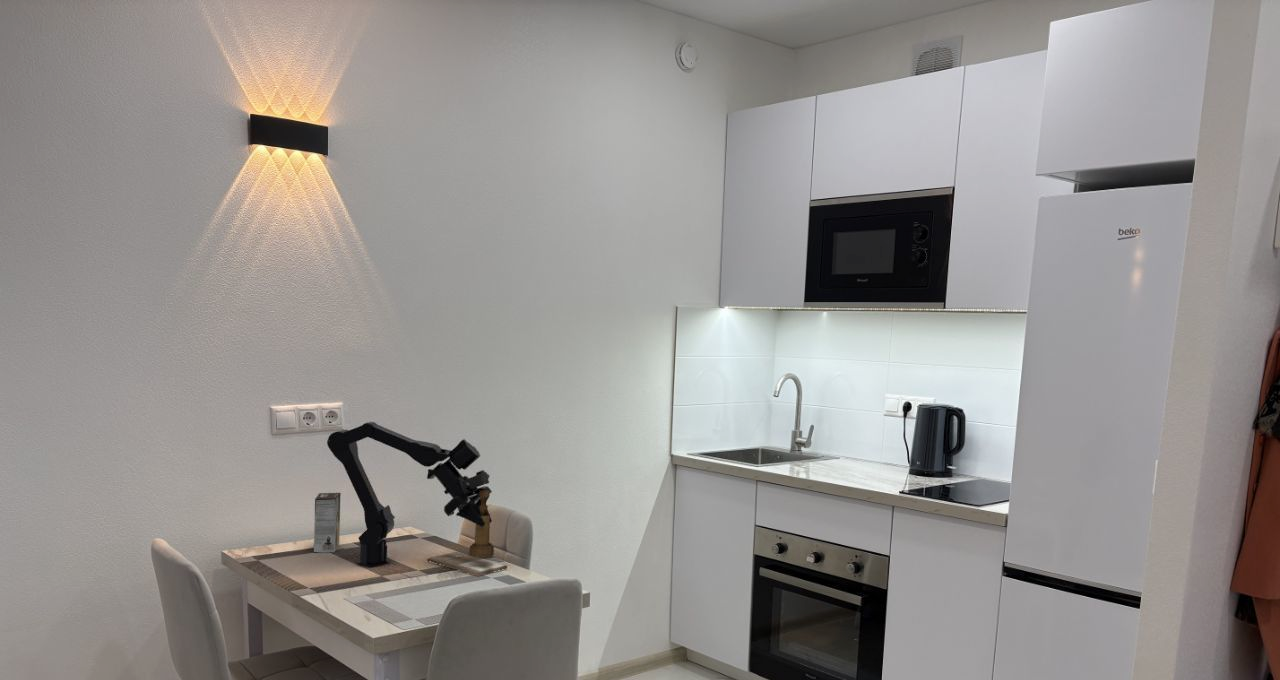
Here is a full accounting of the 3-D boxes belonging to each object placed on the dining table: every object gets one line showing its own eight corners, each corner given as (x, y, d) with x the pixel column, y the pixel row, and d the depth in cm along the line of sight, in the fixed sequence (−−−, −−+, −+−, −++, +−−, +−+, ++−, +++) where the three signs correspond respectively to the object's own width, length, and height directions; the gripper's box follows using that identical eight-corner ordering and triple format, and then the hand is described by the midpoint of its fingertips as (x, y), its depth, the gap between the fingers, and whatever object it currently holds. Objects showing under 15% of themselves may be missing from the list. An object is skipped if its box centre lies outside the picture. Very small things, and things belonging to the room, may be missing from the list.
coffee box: (317, 545, 258) (318, 492, 258) (339, 545, 260) (341, 492, 260) (313, 553, 249) (314, 498, 250) (336, 552, 251) (337, 497, 251)
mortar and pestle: (473, 558, 232) (475, 491, 232) (466, 553, 238) (469, 488, 238) (496, 556, 235) (499, 490, 235) (489, 551, 241) (492, 487, 241)
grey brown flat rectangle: (477, 576, 229) (477, 572, 229) (427, 561, 243) (427, 557, 243) (507, 569, 237) (507, 564, 237) (456, 555, 251) (456, 551, 251)
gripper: (456, 466, 229) (492, 511, 226) (486, 458, 247) (520, 499, 244) (428, 493, 231) (464, 538, 228) (460, 483, 249) (494, 524, 246)
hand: (487, 523), depth 236 cm, fingers closed on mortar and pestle, 4 cm apart
